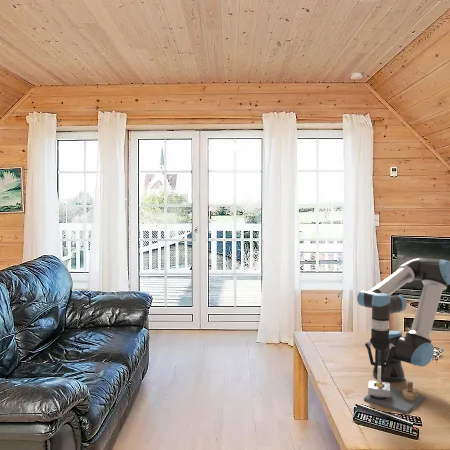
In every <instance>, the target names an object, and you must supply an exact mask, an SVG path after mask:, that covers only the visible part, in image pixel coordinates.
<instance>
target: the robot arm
mask: <svg viewBox="0 0 450 450" xmlns="http://www.w3.org/2000/svg"><path fill="white" fill-rule="evenodd" d="M414 281H421V284H423V288H422V290H421V291H422V292H421V295H420V299H419V302H418V305H417V309H416V311H415V315H414V317H413V318H414V319H413V321H412V325H411V328H410V330H409V331H407V332H406V333H405V335H404V336H403V333H402V331H399V330H390V316H391V314H396V313H400V312H403V311H405V310H406V308H407V306H408V305H407V304H408V303H407V302H408V301H407V300H406V298H405V297H404V296H403V295H398V294H397V295H396V294H395V295H392V294H393V293H395V292H396V291H398V290H399V289H401V287H403V286H404V285H406V284H407V283H411V282H414ZM448 285H450V260H446V259H442V258H441V259H437V258H430V257H429V258H428V257H427V258H426V257H417V258H413V259H411V260H408V261H405V262H404V263H403V264H401V265H399V266H398V268H397V270H395V272H393V273H392V274H391V275H389V276H388V277H386V278H384V279H383V280H382V281H380V282H379V283H377V284H376V285H375V286H374V287H372V288H371V289H369V290H361V291H359V292H358V294H357V295H356V301H357V305H359V306H361V307H364V308H368V309H371V329H370V330H371V332H370V333H371V336H370V338H369V340H368V341H365V343H364V346H365V348H366V350H367V355H368V357H369V362H370V365H371V366H374V367H373V369H372V376H373V378H375V379H376V380H377V382H385V383H401V382H403V381H405V378H406V376H405V372H404V368H403V364H402V362H404V363H407V364H411V365H413V366H416V367H417V366H418V367H426V366H427V365H429V364H430V363H431V362H432V360H433V357H434V353H435V351H434V350H435V346H434V345H433V344H432V339H431V337H430V335H431V331H432V328H433V324H434V322H435V317H436V315H437V311H438V308H439V304H440V301H441V297H442V293H443V291H445V290H447V289H448ZM371 346H372V347H373V349H374V350H375V351H374V353H375V354H374V358H373V352H372V348H371Z"/></svg>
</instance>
